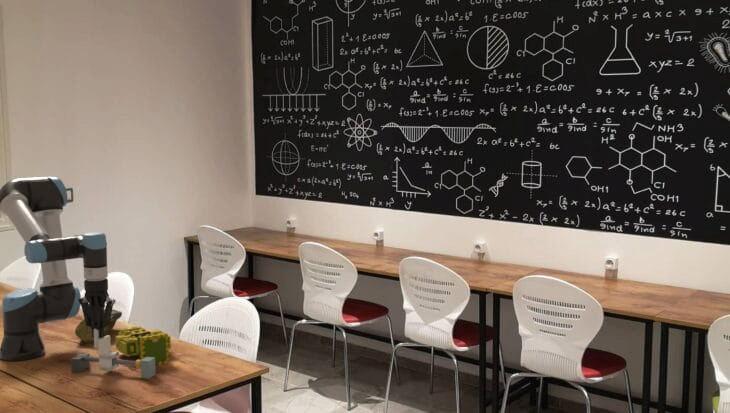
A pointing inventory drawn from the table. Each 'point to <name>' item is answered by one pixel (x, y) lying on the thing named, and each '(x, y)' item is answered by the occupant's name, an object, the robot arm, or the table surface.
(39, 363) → the table surface
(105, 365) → the cream l-shaped block
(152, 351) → the toy
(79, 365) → the rail
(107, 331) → the stone
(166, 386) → the table surface
